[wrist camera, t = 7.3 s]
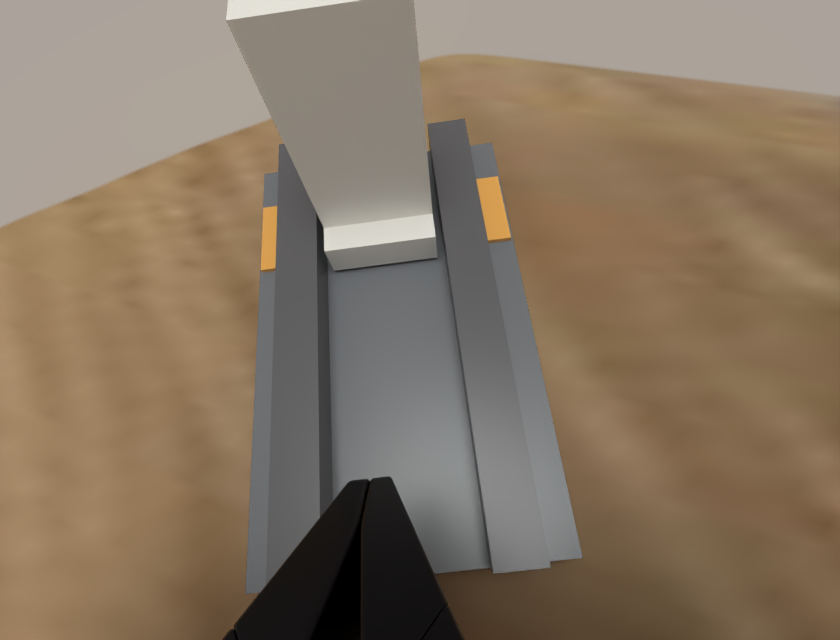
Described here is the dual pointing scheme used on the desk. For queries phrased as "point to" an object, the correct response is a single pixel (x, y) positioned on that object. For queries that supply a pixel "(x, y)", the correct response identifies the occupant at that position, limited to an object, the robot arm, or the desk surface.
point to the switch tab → (347, 118)
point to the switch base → (406, 381)
